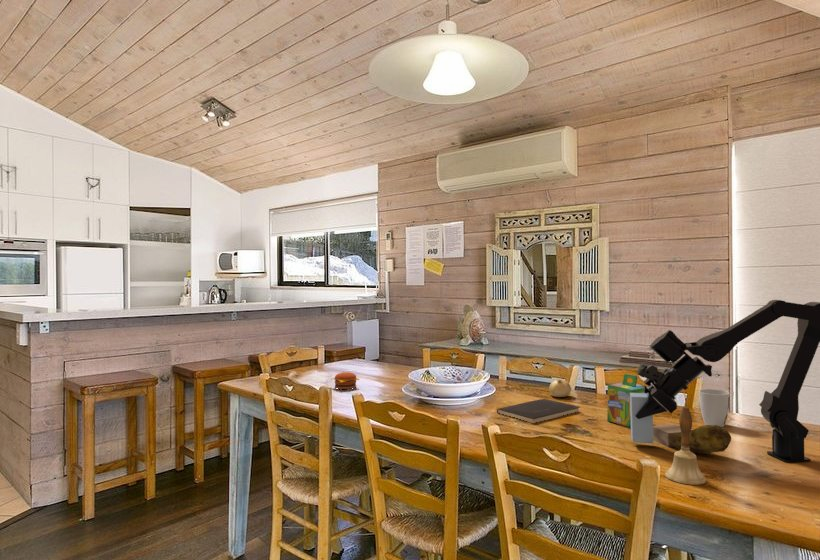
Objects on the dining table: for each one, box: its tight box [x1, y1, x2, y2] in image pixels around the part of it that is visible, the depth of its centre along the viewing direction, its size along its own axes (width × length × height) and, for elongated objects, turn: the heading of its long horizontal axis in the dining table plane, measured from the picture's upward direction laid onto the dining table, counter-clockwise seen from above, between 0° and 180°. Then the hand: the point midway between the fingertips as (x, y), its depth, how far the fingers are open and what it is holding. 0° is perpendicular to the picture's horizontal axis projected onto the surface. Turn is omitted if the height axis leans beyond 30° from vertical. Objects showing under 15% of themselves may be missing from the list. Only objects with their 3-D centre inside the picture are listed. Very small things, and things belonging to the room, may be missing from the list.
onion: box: [548, 378, 572, 398], centre depth 199 cm, size 8×8×7 cm
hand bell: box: [664, 406, 707, 486], centre depth 118 cm, size 8×8×16 cm
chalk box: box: [606, 373, 648, 429], centre depth 162 cm, size 9×9×15 cm
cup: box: [698, 388, 731, 428], centre depth 158 cm, size 8×8×10 cm
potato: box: [672, 424, 732, 455], centre depth 133 cm, size 8×13×8 cm, turn 26°
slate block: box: [630, 393, 654, 445], centre depth 140 cm, size 5×5×12 cm
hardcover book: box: [496, 398, 581, 424], centre depth 176 cm, size 16×23×2 cm
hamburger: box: [331, 371, 360, 390], centre depth 221 cm, size 9×10×7 cm
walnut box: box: [653, 423, 681, 448], centre depth 143 cm, size 7×7×4 cm
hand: (635, 414), depth 140 cm, fingers closed on slate block, 5 cm apart
